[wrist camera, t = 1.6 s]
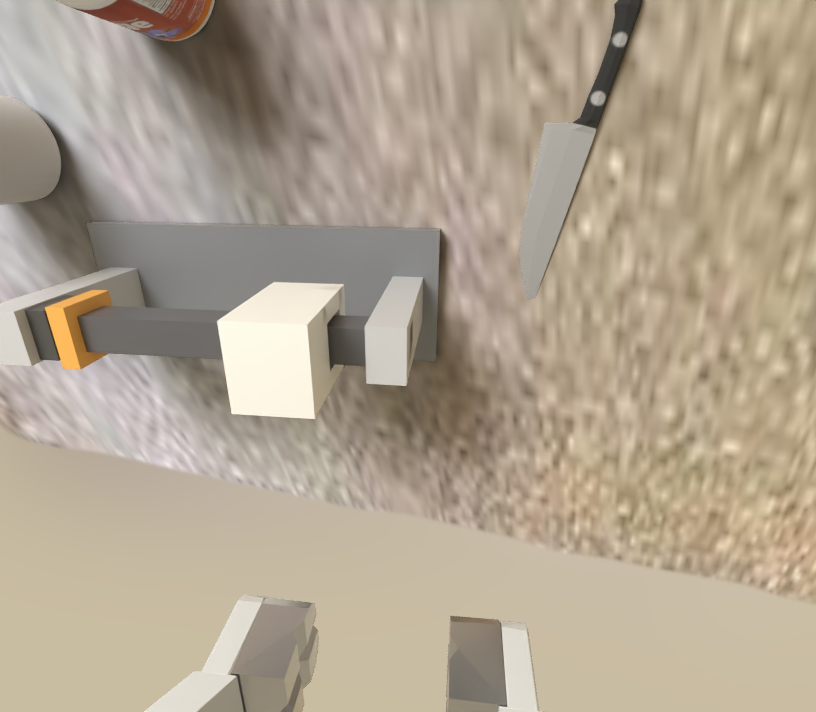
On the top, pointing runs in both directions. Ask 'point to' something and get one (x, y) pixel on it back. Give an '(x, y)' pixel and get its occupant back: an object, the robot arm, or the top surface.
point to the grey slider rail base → (232, 293)
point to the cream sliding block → (281, 350)
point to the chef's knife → (567, 159)
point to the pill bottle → (151, 15)
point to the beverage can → (26, 154)
